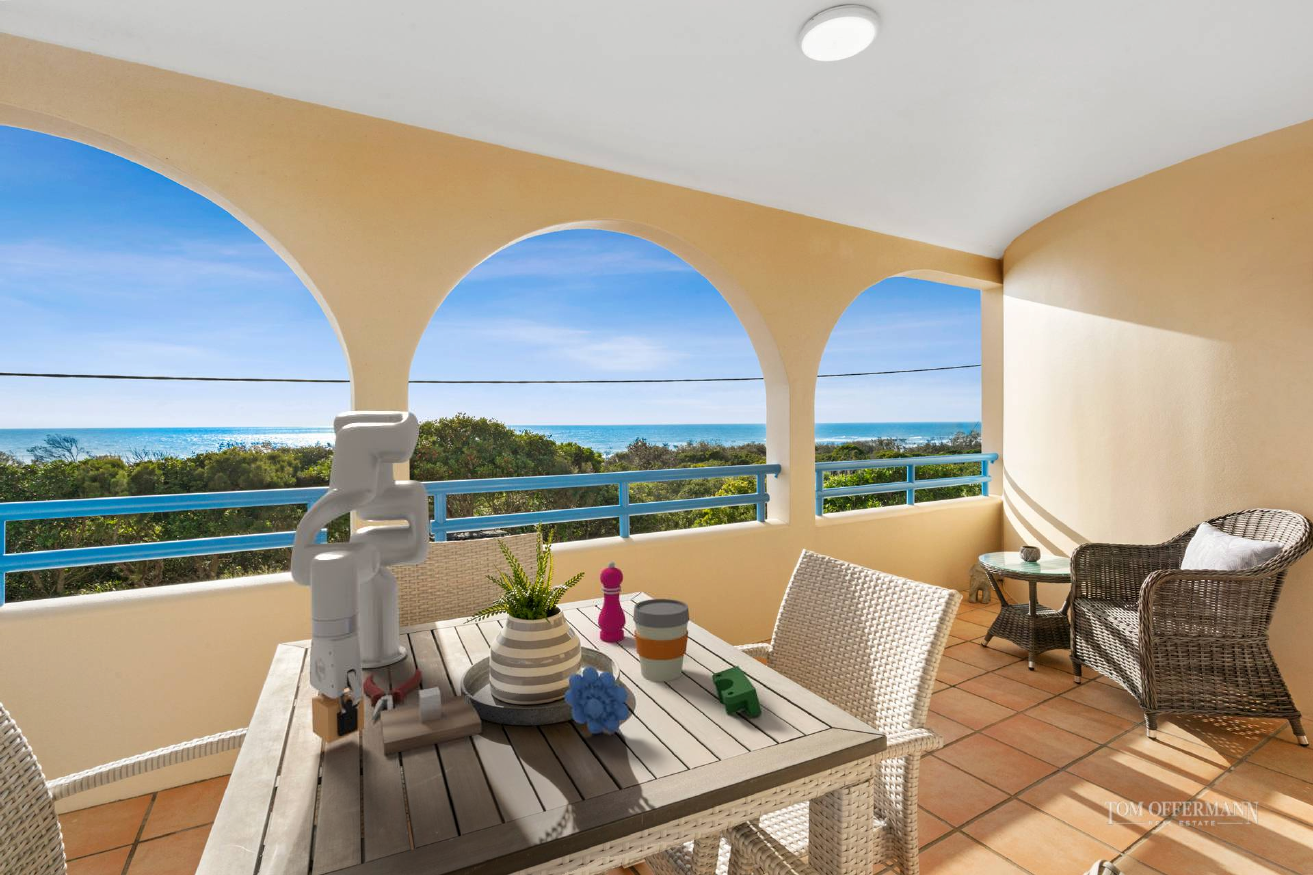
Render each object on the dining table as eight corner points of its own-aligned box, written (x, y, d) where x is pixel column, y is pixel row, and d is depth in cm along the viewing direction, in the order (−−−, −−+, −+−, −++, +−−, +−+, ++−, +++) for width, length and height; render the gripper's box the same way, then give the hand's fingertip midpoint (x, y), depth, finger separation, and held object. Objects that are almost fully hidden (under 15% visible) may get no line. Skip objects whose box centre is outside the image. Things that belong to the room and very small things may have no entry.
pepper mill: (601, 632, 163) (601, 558, 163) (628, 633, 162) (627, 558, 162) (595, 642, 156) (594, 564, 156) (622, 643, 155) (622, 565, 155)
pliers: (347, 728, 113) (347, 714, 113) (366, 684, 133) (366, 672, 132) (413, 719, 116) (413, 706, 116) (422, 678, 136) (422, 666, 136)
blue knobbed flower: (559, 744, 106) (559, 676, 106) (567, 725, 113) (567, 661, 112) (626, 746, 105) (626, 677, 105) (630, 727, 112) (630, 662, 112)
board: (380, 721, 115) (380, 687, 114) (468, 703, 122) (468, 671, 122) (384, 754, 103) (383, 716, 103) (481, 732, 110) (481, 697, 110)
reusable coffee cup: (690, 663, 142) (690, 599, 142) (688, 686, 130) (688, 615, 129) (637, 661, 143) (636, 597, 143) (629, 683, 131) (629, 614, 131)
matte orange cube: (312, 731, 106) (311, 697, 105) (347, 718, 110) (347, 685, 110) (328, 743, 102) (327, 708, 102) (364, 728, 107) (363, 694, 106)
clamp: (723, 720, 123) (709, 674, 126) (751, 711, 124) (736, 665, 127) (734, 725, 112) (718, 674, 115) (764, 714, 113) (747, 664, 116)
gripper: (291, 619, 108) (294, 719, 108) (337, 642, 97) (339, 753, 98) (335, 608, 114) (337, 703, 114) (383, 629, 103) (384, 733, 104)
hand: (338, 725), depth 106 cm, fingers closed on matte orange cube, 6 cm apart
